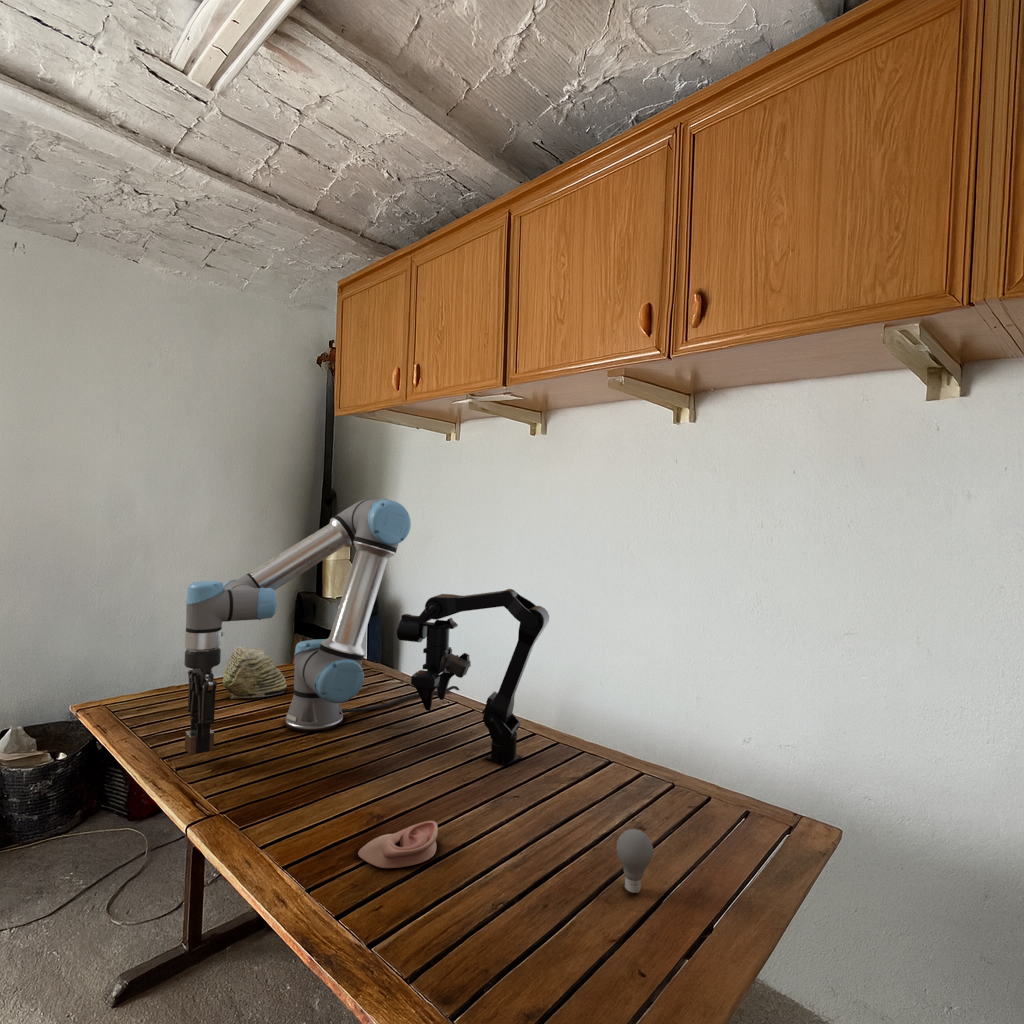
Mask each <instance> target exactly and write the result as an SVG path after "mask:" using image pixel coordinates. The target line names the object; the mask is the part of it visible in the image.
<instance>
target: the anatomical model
mask: <svg viewBox="0 0 1024 1024" xmlns="http://www.w3.org/2000/svg"><path fill="white" fill-rule="evenodd" d="M438 833H439V826H438V823H437V822H436V821H435V820H426V821H422V822H419V823H416V824H413V825H410V826H408V827H406V828H403V829H401V830H399V831H397V832H394V833H387V834H382V835H380V836H377V837H375V838H373V839H372V840H370V841H368V842H367V843H366V844H365V845H363V846H361V848H360V849H359V850H358V852H357V855H358V857H359V858H360V859H362V860H363V861H365V862H366V863H368V864H370V865H372V866H375V867H377V868H381V869H395V868H404V867H410V866H415V865H418V864H421V863H424V862H426V861H428V860H430V859H431V858H433V857H434V855H435V854H436V852H437V841H436V840H437V838H438Z"/></svg>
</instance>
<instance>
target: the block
mask: <svg viewBox="0 0 1024 1024" xmlns="http://www.w3.org/2000/svg"><path fill="white" fill-rule="evenodd" d="M184 733H185V734H184V750H185V751H186V752H187V753H188V755H197V753H196V734H197V729H196V730H191V731H190V730H187V731H185V732H184ZM214 746H215V732H214V730H212V729H211V728H210V748H209V751H208V752H210V751H214V749H215V747H214Z"/></svg>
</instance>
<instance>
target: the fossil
mask: <svg viewBox="0 0 1024 1024" xmlns="http://www.w3.org/2000/svg"><path fill="white" fill-rule="evenodd" d="M222 676H223V677H222V685H223V687H224V688H225V690H226V691H228V693H229V698H230V699H250V698H264V697H271V696H275V695H281V694H284V693H285V691H286V689H287V687H288V686H287V680H286V678H285V676H284V674H283V673H282V672H281V669H279V668H278V667H277V665H276V663H275V662H274V660H273V659H272V658H271V657H270V656H269V655H268V654H267V653H266V652H265V650H264V649H263V648H260V647H258V648H251V647H247V646H246V647H245V646H238V647H237V648H236V649H235V650H233V651H232V653H231V656H230V657H229V659H228V660H227V663H226V666H225V668H224V671H223V675H222Z"/></svg>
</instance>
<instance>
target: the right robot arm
mask: <svg viewBox="0 0 1024 1024" xmlns="http://www.w3.org/2000/svg"><path fill="white" fill-rule="evenodd" d="M501 607H503V608H505V609H506V610H507V612H509V613H510V615H511V616H512V617H513V618H514V619H515V620H517V622H519V627H518V638H517V642H516V645H515V647H514V650H513V652H512V655H511V658H510V660H509V663H508V666H507V668H506V671H505V674H504V676H503V678H502V681H501V684H500V685H499V689H498V692H497V691H493V692H492V693H491V694H490V695H489V696H488V697H487V699H486V703H485V707H484V708H483V710H482V711H481V714H483V716H482V722H483V724H484V726H485V728H487V729H488V734H489V736H490V739H491V743H490V745H491V746H490V754H489V755H487V756H486V757H485V758H486V761H487V760H488V761H491V762H493V763H497V764H499V765H502V766H505V767H507V766H510V765H511V764H513V763H515V762H517V761H518V760H520V759H522V756H521V755H519V754H517V744H518V743H517V740H518V738H517V737H518V732H517V731H518V730H519V728H520V726H521V721H520V720H519V719H518V717H517V716H515V714H514V713H513V711H514V707H515V695H516V692H517V690H518V687H519V685H520V682H521V679H522V677H523V674H524V672H525V669H526V666H527V664H528V662H529V658H530V656H531V654H532V651H533V648H534V646H535V644H536V643H537V641H538V639H539V638H540V636H541V635H542V633H543V632H544V630H545V628H546V627H547V626H548V623H549V622H550V614H549V612H548V610H547V609H546V608H545V607H544V606H541V605H536V604H535V603H534V602H532V600H529V599H528V598H526V597H524V596H523V595H521V594H519V593H518V592H516V590H515V589H512V588H507V589H504V590H500V591H499V590H497V591H491V592H482V593H475V594H466V595H460V594H459V595H458V594H453V593H450V594H449V593H440V594H437V595H434V596H432V597H429V598H428V599H427V600H426V602H425V604H424V609H423V611H422V612H421V613H420V614H419V615H414V614H409V613H404V614H402V615H401V616H400V618H401V619H400V621H399V623H398V626H397V629H396V637H397V639H398V640H399V641H404V642H411V643H422V642H423V641H424V640H425V639H426V644H425V647H424V648H423V650H422V654H425V663H424V664H422V669H420V670H418V671H416V672H414V673H413V674H412V675H411V676H410V685H412V687H413V688H415V690H416V692H417V694H419V699H420V700H421V703H422V705H423V708H424V710H425V711H427V712H429V711H431V709H432V704H433V699H434V694H433V693H434V691H437V692H438V694H437V695H438V699H439V700H440V701H444V700H445V697H446V694H447V692H446V691H447V688H449V684H450V681H451V679H452V678H453V677H454V676H455V677H457V678H461V679H462V678H463V677H464V676H466V675H467V673H468V671H469V669H470V668H471V667H472V663H471V662H472V661H471V659H470V654H468V653H466V652H464V653H462V654H460V656H459V654H453V648H452V647H451V646H450V630H454V629H456V628H458V626H459V624H458V623H456V621H455V620H454V619H453V618H452V617H450V618H448V619H447V620H445V619H444V618H447V617H449V616H453V615H455V614H458V613H463V612H469V611H477V610H486V609H494V608H501ZM432 620H435V621H434V622H432Z"/></svg>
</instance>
